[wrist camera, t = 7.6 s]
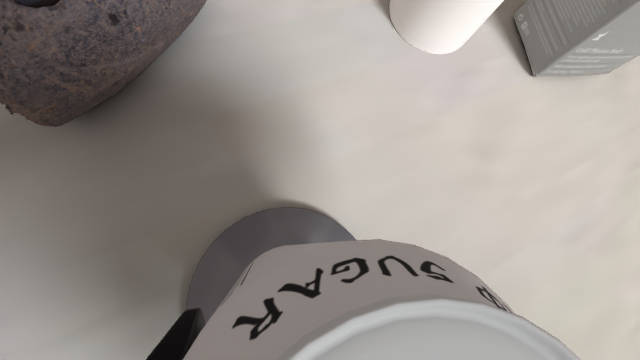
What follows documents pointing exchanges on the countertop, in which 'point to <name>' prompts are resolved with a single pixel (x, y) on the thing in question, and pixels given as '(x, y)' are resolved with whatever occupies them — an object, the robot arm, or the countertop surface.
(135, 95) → the countertop surface
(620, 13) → the skincare box
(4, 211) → the countertop surface
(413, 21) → the cylindrical container
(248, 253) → the coaster
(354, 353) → the energy drink can
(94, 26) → the perforated stone tool
